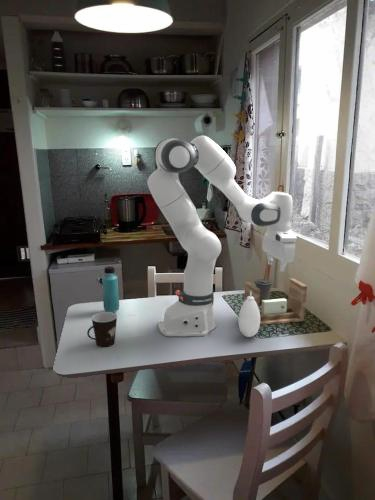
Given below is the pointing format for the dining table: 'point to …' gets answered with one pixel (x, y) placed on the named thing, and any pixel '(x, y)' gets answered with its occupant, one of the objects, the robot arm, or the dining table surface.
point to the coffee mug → (104, 328)
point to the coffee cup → (263, 288)
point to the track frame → (294, 303)
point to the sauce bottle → (249, 317)
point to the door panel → (273, 306)
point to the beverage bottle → (110, 290)
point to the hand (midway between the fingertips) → (275, 267)
